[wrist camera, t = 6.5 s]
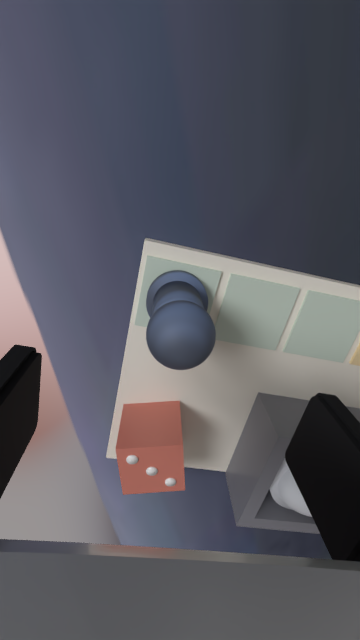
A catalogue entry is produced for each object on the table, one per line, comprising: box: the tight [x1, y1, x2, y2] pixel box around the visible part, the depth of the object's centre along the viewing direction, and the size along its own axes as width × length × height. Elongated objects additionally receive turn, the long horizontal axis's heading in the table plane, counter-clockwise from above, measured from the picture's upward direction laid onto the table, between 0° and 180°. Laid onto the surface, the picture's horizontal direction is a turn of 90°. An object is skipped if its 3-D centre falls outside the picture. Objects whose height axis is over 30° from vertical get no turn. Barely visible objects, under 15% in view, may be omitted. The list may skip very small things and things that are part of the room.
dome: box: [269, 459, 312, 517], centre depth 21 cm, size 6×6×5 cm
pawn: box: [146, 270, 216, 370], centre depth 15 cm, size 4×4×6 cm
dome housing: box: [225, 392, 360, 534], centre depth 22 cm, size 8×8×4 cm
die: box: [115, 401, 185, 495], centre depth 20 cm, size 4×4×4 cm
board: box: [106, 238, 360, 472], centre depth 22 cm, size 17×25×1 cm
